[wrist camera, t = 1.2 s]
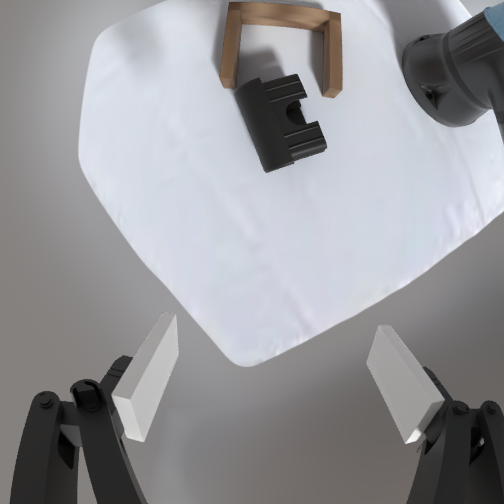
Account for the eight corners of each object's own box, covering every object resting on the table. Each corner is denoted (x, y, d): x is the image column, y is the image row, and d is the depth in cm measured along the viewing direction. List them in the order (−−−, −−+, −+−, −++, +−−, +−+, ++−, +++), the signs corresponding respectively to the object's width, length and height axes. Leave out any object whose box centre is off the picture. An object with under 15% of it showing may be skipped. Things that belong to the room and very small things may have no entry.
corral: (333, 26, 27) (340, 13, 23) (333, 98, 30) (342, 89, 26) (232, 16, 27) (229, 2, 23) (223, 88, 30) (219, 78, 27)
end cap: (236, 102, 31) (230, 86, 24) (288, 85, 30) (295, 66, 24) (264, 173, 33) (265, 173, 27) (317, 155, 33) (331, 151, 26)
